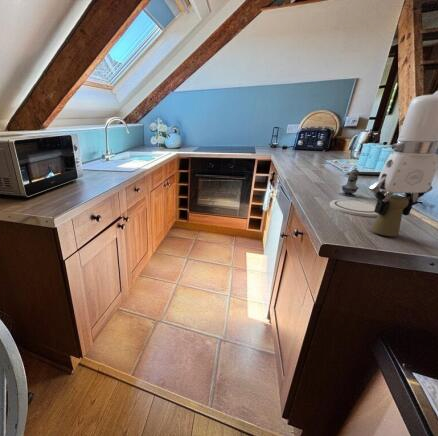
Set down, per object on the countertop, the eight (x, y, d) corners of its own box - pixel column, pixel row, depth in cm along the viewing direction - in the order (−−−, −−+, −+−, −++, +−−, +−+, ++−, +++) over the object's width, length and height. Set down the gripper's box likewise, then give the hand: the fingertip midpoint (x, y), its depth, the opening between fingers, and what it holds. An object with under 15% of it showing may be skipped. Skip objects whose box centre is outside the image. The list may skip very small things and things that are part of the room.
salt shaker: (344, 196, 104) (352, 168, 100) (336, 192, 110) (344, 166, 105) (359, 197, 103) (368, 169, 99) (351, 193, 109) (359, 166, 104)
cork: (371, 225, 75) (383, 191, 71) (398, 231, 71) (413, 195, 67) (369, 232, 71) (381, 196, 67) (397, 238, 67) (412, 200, 63)
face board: (350, 200, 100) (351, 197, 99) (396, 213, 86) (397, 210, 85) (319, 204, 96) (320, 201, 96) (361, 218, 82) (362, 215, 82)
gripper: (390, 150, 60) (367, 218, 67) (469, 149, 58) (437, 218, 65) (368, 147, 67) (349, 209, 74) (437, 145, 65) (411, 209, 72)
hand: (391, 213), depth 69 cm, fingers closed on cork, 5 cm apart
